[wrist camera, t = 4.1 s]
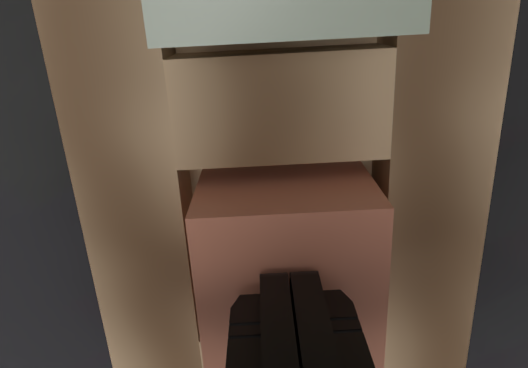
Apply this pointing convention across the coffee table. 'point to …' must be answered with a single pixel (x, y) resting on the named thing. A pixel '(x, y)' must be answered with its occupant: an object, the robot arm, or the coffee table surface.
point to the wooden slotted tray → (279, 156)
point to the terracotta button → (289, 241)
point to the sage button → (278, 20)
